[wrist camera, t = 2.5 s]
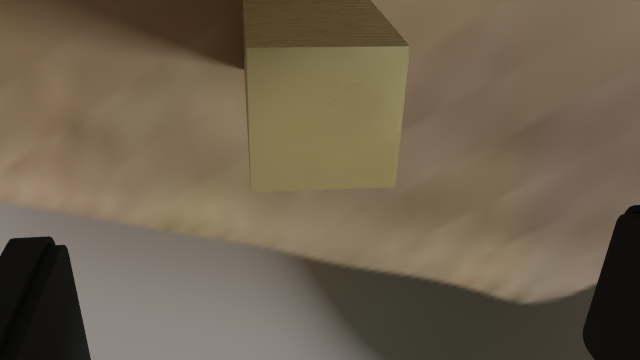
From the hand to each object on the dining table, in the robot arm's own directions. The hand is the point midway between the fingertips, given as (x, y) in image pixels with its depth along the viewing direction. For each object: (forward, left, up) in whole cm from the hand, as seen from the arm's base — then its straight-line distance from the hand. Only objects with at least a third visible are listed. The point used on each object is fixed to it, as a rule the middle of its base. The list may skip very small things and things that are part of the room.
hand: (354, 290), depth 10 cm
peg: (0, 0, -16) cm, 16 cm away
